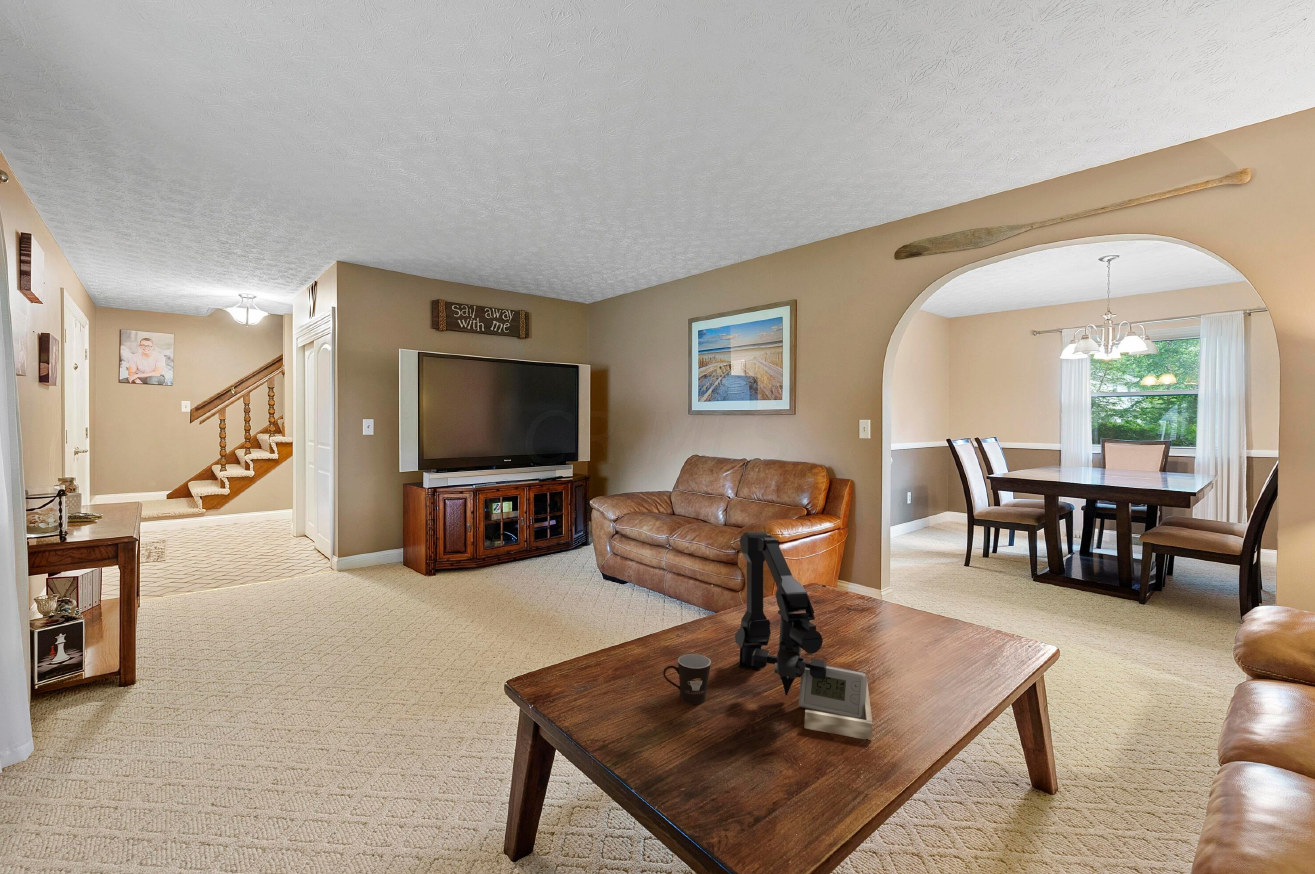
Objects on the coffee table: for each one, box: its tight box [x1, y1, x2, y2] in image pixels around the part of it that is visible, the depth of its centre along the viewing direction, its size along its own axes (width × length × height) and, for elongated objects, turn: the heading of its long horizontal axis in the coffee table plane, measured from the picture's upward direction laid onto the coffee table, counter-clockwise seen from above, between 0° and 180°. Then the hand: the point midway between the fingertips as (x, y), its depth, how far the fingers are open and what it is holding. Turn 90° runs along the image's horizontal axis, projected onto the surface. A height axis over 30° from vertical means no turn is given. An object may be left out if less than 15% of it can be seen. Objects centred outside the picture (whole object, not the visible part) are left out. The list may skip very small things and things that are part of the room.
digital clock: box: [798, 664, 868, 720], centre depth 150 cm, size 16×9×11 cm, turn 57°
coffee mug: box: [662, 653, 712, 706], centre depth 154 cm, size 12×9×10 cm
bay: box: [803, 682, 874, 741], centre depth 150 cm, size 15×23×4 cm, turn 164°
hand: (786, 694), depth 154 cm, fingers closed
